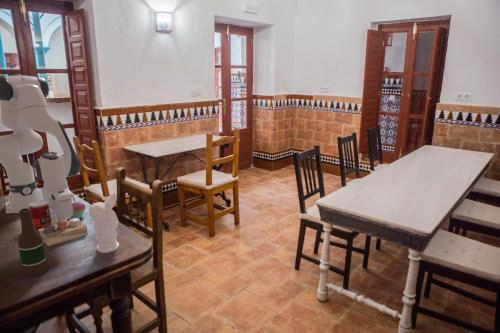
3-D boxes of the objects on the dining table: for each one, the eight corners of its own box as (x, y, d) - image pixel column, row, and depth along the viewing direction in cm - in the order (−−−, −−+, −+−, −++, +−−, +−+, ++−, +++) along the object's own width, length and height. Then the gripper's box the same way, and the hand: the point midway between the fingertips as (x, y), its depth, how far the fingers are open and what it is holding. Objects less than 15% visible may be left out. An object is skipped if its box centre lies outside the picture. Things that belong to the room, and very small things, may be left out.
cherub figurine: (100, 257, 140) (91, 204, 134) (86, 246, 148) (77, 196, 142) (128, 245, 149) (122, 195, 142) (113, 236, 157) (107, 188, 150)
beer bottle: (30, 266, 134) (18, 205, 127) (52, 265, 134) (41, 205, 128) (19, 278, 126) (6, 214, 120) (42, 276, 127) (30, 213, 120)
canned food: (43, 229, 163) (39, 206, 160) (28, 228, 165) (24, 205, 162) (55, 222, 170) (52, 200, 167) (41, 221, 172) (37, 199, 169)
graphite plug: (44, 239, 153) (42, 227, 152) (55, 236, 156) (53, 224, 155) (47, 242, 150) (45, 230, 149) (58, 239, 153) (56, 227, 152)
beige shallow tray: (39, 238, 155) (38, 229, 154) (78, 226, 166) (76, 218, 165) (48, 246, 148) (46, 238, 147) (87, 234, 159) (86, 225, 157)
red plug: (56, 233, 156) (54, 221, 155) (66, 230, 159) (65, 218, 158) (60, 236, 154) (58, 224, 152) (70, 233, 156) (68, 221, 155)
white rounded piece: (69, 231, 160) (67, 220, 159) (78, 228, 163) (77, 217, 161) (72, 234, 157) (70, 223, 156) (82, 231, 160) (80, 220, 159)
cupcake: (64, 217, 176) (61, 194, 173) (82, 211, 182) (79, 189, 179) (72, 222, 171) (68, 198, 167) (89, 216, 177) (86, 193, 173)
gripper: (40, 187, 156) (45, 216, 160) (57, 199, 142) (62, 231, 146) (56, 183, 160) (61, 212, 164) (73, 195, 146) (78, 226, 150)
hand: (61, 221), depth 155 cm, fingers closed, pressing on red plug
